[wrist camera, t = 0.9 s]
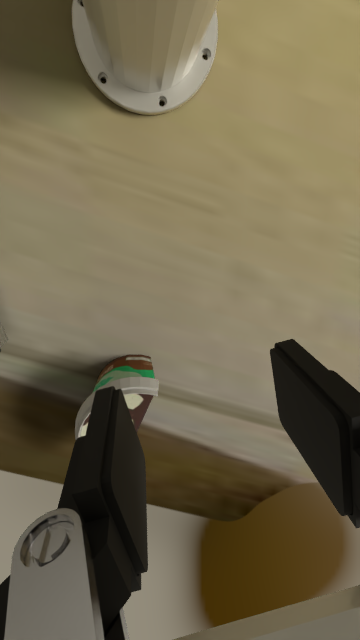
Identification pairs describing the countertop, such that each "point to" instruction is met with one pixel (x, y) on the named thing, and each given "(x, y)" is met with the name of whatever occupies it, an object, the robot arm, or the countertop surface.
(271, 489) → the countertop surface
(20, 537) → the robot arm
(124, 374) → the food container
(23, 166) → the countertop surface
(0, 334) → the grey boxy piece
